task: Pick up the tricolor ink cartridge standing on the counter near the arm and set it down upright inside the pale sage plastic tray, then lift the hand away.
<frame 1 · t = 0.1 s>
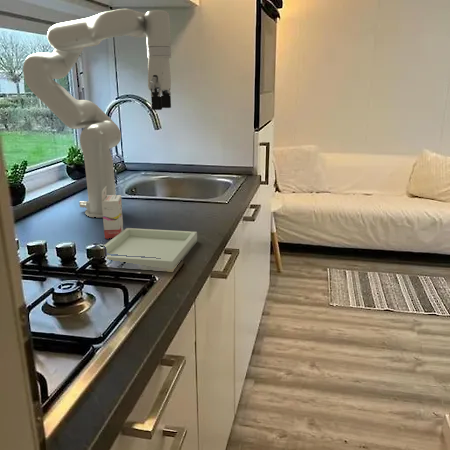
hand: (161, 108, 156), 37 cm above the counter, tool pointing down, fingers open, 9 cm apart
ink cartridge box: (114, 235, 149), on the counter
sage tray: (147, 253, 133), on the counter
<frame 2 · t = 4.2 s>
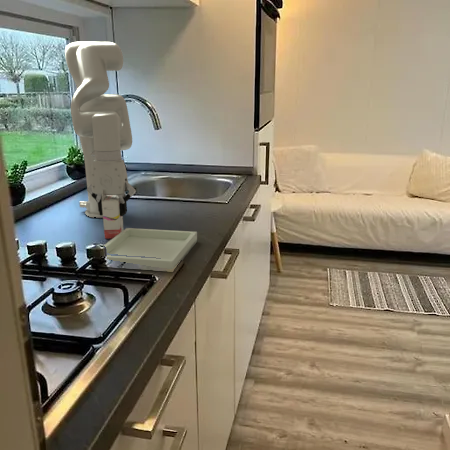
hand: (113, 214, 147), 7 cm above the counter, tool pointing down, fingers closed on ink cartridge box, 6 cm apart
ink cartridge box: (114, 235, 149), on the counter, touching gripper
when the fingers open (9 cm above the counter, at t = 12.2 s): ink cartridge box drops 1 cm, resting on sage tray.
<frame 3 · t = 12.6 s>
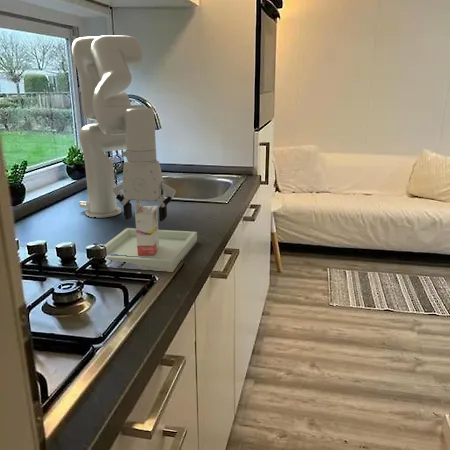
hand: (145, 219, 130), 10 cm above the counter, tool pointing down, fingers open, 9 cm apart
ink cartridge box: (149, 251, 132), point 1 cm above the counter, touching sage tray
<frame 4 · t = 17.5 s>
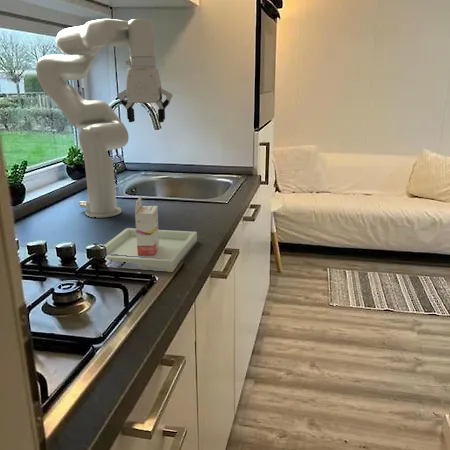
hand: (146, 122, 149), 33 cm above the counter, tool pointing down, fingers open, 9 cm apart
nothing on the counter moved.
at the end: ink cartridge box inside the target area on the sage tray (0.4 cm from its centre), point 0.6 cm above the sage tray's base; ink cartridge box tilted 0°; the gripper is holding nothing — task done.
